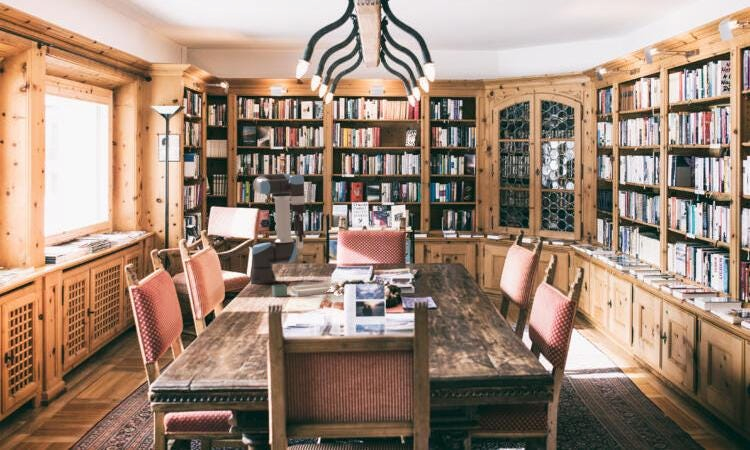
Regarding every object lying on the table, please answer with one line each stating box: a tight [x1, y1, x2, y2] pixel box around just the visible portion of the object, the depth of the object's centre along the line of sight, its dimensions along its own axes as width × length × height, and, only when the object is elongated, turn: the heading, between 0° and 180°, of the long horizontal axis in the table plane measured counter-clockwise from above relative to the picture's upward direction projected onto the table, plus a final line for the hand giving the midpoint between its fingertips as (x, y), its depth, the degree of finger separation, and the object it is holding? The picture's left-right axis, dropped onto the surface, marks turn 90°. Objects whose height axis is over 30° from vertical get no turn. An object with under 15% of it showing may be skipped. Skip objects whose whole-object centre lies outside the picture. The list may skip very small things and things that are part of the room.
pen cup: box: [271, 284, 288, 297], centre depth 368 cm, size 7×7×5 cm
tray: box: [290, 282, 333, 297], centre depth 374 cm, size 16×22×2 cm
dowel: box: [296, 231, 304, 262], centre depth 370 cm, size 3×3×16 cm
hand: (300, 247), depth 370 cm, fingers closed on dowel, 3 cm apart
